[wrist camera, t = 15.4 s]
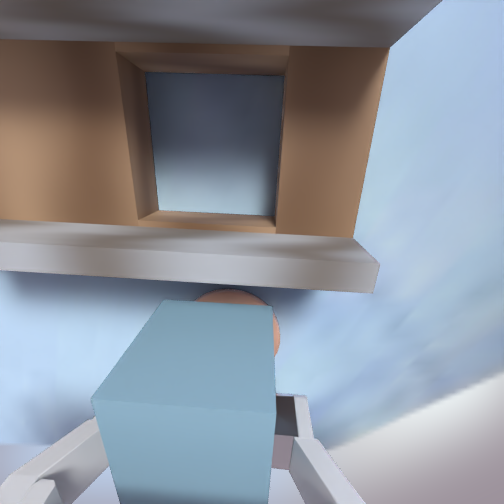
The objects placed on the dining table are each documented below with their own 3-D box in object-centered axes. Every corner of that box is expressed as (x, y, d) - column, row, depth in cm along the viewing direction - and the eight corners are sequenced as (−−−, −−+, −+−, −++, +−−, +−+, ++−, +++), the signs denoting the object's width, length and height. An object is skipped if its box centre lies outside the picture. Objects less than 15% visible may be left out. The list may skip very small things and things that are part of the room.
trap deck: (373, 18, 9) (472, -111, 4) (333, 254, 12) (369, 307, 8) (-222, 8, 10) (-600, -107, 5) (-109, 229, 13) (-292, 264, 9)
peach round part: (283, 292, 13) (284, 298, 12) (275, 371, 15) (276, 379, 14) (179, 285, 13) (175, 291, 12) (186, 364, 15) (182, 372, 14)
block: (265, 527, 8) (276, 413, 6) (122, 512, 8) (90, 399, 6) (266, 395, 12) (272, 305, 10) (173, 388, 12) (163, 299, 10)
